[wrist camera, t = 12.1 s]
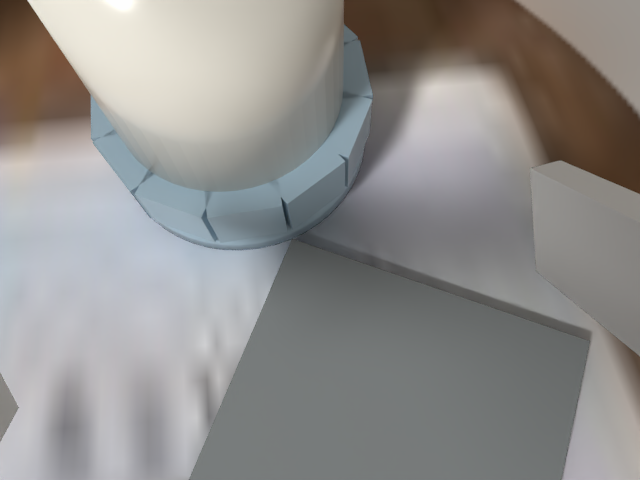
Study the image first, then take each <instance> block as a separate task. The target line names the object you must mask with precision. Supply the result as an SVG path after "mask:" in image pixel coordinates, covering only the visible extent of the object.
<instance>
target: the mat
mask: <svg viewBox="0 0 640 480" xmlns="http://www.w3.org/2000/svg"><path fill="white" fill-rule="evenodd" d="M589 343H590V341H588V340H585V339H582V338H579V337H576V336H574V335H571V334H568V333H565V332H562V331H559V330H556V329H553V328H550V327H547V326H545V325H542V324H539V323H536V322H533V321H530V320H527V319H524V318H521V317H518V316H515V315H513V314H510V313H507V312H504V311H501V310H498V309H495V308H492V307H489V306H486V305H483V304H481V303H478V302H475V301H472V300H469V299H466V298H463V297H460V296H457V295H454V294H451V293H449V292H446V291H443V290H440V289H437V288H434V287H431V286H428V285H425V284H422V283H420V282H417V281H414V280H411V279H408V278H405V277H402V276H399V275H396V274H393V273H390V272H388V271H385V270H382V269H379V268H376V267H373V266H370V265H367V264H364V263H361V262H358V261H356V260H353V259H350V258H347V257H344V256H341V255H338V254H335V253H332V252H329V251H326V250H324V249H321V248H318V247H315V246H312V245H309V244H306V243H303V242H300V241H297V240H295V239H292V240H291V243H290V245H289V247H288V250H287V252H286V254H285V257H284V259H283V261H282V264H281V266H280V268H279V271H278V273H277V276H276V278H275V280H274V283H273V285H272V287H271V290H270V292H269V294H268V297H267V299H266V301H265V304H264V306H263V308H262V311H261V313H260V315H259V318H258V320H257V322H256V325H255V327H254V329H253V332H252V334H251V336H250V339H249V341H248V343H247V346H246V348H245V350H244V353H243V355H242V357H241V360H240V362H239V364H238V367H237V369H236V371H235V374H234V376H233V378H232V381H231V383H230V385H229V388H228V390H227V392H226V395H225V397H224V399H223V402H222V404H221V406H220V409H219V411H218V413H217V416H216V418H215V420H214V423H213V425H212V427H211V430H210V432H209V434H208V437H207V439H206V441H205V444H204V446H203V448H202V451H201V453H200V455H199V458H198V460H197V462H196V465H195V467H194V469H193V472H192V474H191V476H190V479H189V480H561V479H562V474H563V469H564V465H565V460H566V455H567V450H568V445H569V440H570V435H571V430H572V426H573V421H574V416H575V411H576V406H577V401H578V396H579V392H580V387H581V382H582V377H583V372H584V367H585V362H586V358H587V353H588V348H589Z"/></svg>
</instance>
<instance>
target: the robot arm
mask: <svg viewBox="0 0 640 480" xmlns="http://www.w3.org/2000/svg"><path fill="white" fill-rule="evenodd" d="M530 179H531V196H532V213H533V230H534V247H535V264H536V272H538V273H539V274H540V275H541V276H543V277H544V278H545V279H546V280H547V281H549V282H550V283H551V284H552V285H553V286H555V287H556V288H557V289H558V290H560V291H561V292H562V293H563V294H564V295H566V296H567V297H568V298H569V299H571V300H572V301H573V302H574V303H575V304H577V305H578V306H579V307H580V308H581V309H583V310H584V311H585V312H586V313H588V314H589V315H590V316H591V317H592V318H594V319H595V320H596V321H597V322H599V323H600V324H601V325H602V326H603V327H605V328H606V329H607V330H608V331H610V332H611V333H612V334H613V335H614V336H616V337H617V338H618V339H619V340H620V341H622V342H623V343H624V344H625V345H627V346H628V347H629V348H630V349H631V350H633V351H634V352H635V353H636V354H638V355H639V356H640V194H638V193H636V192H634V191H631V190H629V189H627V188H624V187H622V186H620V185H617V184H615V183H613V182H610V181H608V180H605V179H603V178H601V177H598V176H596V175H594V174H591V173H589V172H587V171H584V170H582V169H580V168H577V167H575V166H573V165H570V164H568V163H566V162H563V161H561V160H560V161H556V162H552V163H548V164H544V165H540V166H536V167H532V168H530ZM18 408H19V407H18V405H17V403H16V401H15V400H14V398H13V396H12V394H11V392H10V390H9V388H8V386H7V385H6V383H5V381H4V379H3V377H2V375H1V373H0V441H1V440H2V438H3V436H4V434H5V432H6V430H7V428H8V427H9V425H10V423H11V421H12V419H13V417H14V415H15V414H16V412H17V410H18Z"/></svg>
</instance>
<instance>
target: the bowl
mask: <svg viewBox="0 0 640 480" xmlns="http://www.w3.org/2000/svg"><path fill="white" fill-rule="evenodd" d="M372 100H373V93H372V89H371V85H370V81H369V76H368V72H367V68H366V64H365V60H364V55H363V51H362V47H361V43H360V40H358V36H356V35H355V34H354V33H353V32H352V31H351V30H350V29H349V28H348V27H347V26H346V25H344V66H343V98H342V104H341V108H340V113H339V115H338V118H337V120H336V123H335V125H334V127H333V129H332V131H331V132H330V134H329V136H328V137H327V139H326V140H325V141H324V143H323V144H322V145H321V146H320V148H319V149H318V150H317V151H316V152H315V153H314V154H313V155H312V156H311V157H310V158H309V159H308V160H307V161H305V162H304V163H303V164H301V165H300V166H299V167H297V168H296V169H294V170H293V171H291V172H289V173H288V174H286V175H284V176H282V177H280V178H278V179H276V180H273V181H271V182H269V183H266V184H263V185H260V186H256V187H253V188H249V189H243V190H237V191H225V192H212V191H200V190H195V189H189V188H185V187H182V186H179V185H176V184H173V183H171V182H169V181H166V180H164V179H162V178H160V177H158V176H157V175H155V174H154V173H152V172H151V171H149V170H148V169H146V168H145V167H144V166H143V165H142V164H141V163H140V162H138V161H137V160H136V158H135V157H134V156H133V155H132V154H131V152H130V151H129V150H128V148H127V147H126V145H125V144H124V143H123V141H122V140H121V138H120V137H119V135H118V134H117V132H116V131H115V129H114V128H113V126H112V125H111V123H110V122H109V120H108V119H107V117H106V116H105V114H104V113H103V111H102V110H101V109H100V107H99V106H98V104H97V103H96V101H95V100H94V98H93V97H92V95H91V139H92V140H93V144H94V145H95V147H96V148H97V149H98V150H99V152H100V153H101V154H102V156H103V157H104V158H105V160H106V161H107V162H108V164H109V165H110V166H111V167H112V169H113V170H114V171H115V173H116V174H117V175H118V177H119V178H120V179H121V180H122V182H123V183H124V184H125V186H126V187H127V188H128V190H129V191H130V192H131V194H132V195H133V196H134V197H135V199H136V200H137V201H138V203H139V204H140V205H141V206H142V208H143V209H144V210H145V212H146V213H147V214H148V215H149V217H150V218H152V219H153V220H154V221H155V222H157V223H158V224H159V225H161V226H162V227H163V228H164V229H166V230H167V231H169V232H171V233H172V234H174V235H176V236H177V237H180V238H182V239H184V240H186V241H189V242H191V243H194V244H198V245H201V246H205V247H209V248H215V249H222V250H249V249H259V248H263V247H267V246H272V245H276V244H279V243H282V242H284V241H287V240H290V239H292V238H294V237H296V236H298V235H300V234H302V233H304V232H306V231H308V230H309V229H311V228H312V227H314V226H315V225H317V224H318V223H320V222H321V221H322V220H323V219H325V218H326V217H327V216H328V215H329V214H330V213H332V212H333V211H334V209H335V208H336V207H337V206H338V205H339V204H340V203H341V202H342V200H343V199H344V198H345V196H346V195H347V193H348V192H349V190H350V189H351V187H352V185H353V183H354V181H355V179H356V177H357V175H358V172H359V169H360V166H361V163H362V160H363V154H364V147H365V144H366V141H367V139H368V136H369V134H370V122H371V111H372Z"/></svg>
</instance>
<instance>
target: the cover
mask: <svg viewBox="0 0 640 480" xmlns="http://www.w3.org/2000/svg"><path fill="white" fill-rule="evenodd" d="M27 1H28V2H29V3H30V5H31V6H32V8H33V9H34V11H35V12H36V14H37V15H38V17H39V18H40V20H41V21H42V23H43V24H44V26H45V27H46V29H47V30H48V32H49V33H50V35H51V36H52V38H53V39H54V40H55V42H56V43H57V45H58V46H59V48H60V49H61V51H62V52H63V54H64V55H65V57H66V58H67V60H68V61H69V63H70V64H71V66H72V67H73V69H74V70H75V72H76V73H77V74H78V76H79V77H80V79H81V80H82V82H83V83H84V85H85V86H86V88H87V89H88V91H89V92H90V94H91V95H92V97H93V98H94V100H95V101H96V103H97V104H98V106H99V107H100V109H101V110H102V111H103V113H104V114H105V116H106V117H107V119H108V120H109V122H110V123H111V125H112V126H113V128H114V129H115V131H116V132H117V134H118V135H119V137H120V138H121V140H122V141H123V143H124V144H125V145H126V147H127V148H128V150H129V151H130V152H131V154H132V155H133V156H134V157H135V158H136V160H137V161H138V162H140V163H141V164H142V165H143V166H144V167H145V168H146V169H148V170H149V171H151V172H152V173H154V174H155V175H157V176H158V177H160V178H162V179H164V180H166V181H169V182H171V183H173V184H176V185H179V186H182V187H185V188H189V189H195V190H200V191H212V192H225V191H237V190H243V189H249V188H253V187H256V186H260V185H263V184H266V183H269V182H271V181H273V180H276V179H278V178H280V177H282V176H284V175H286V174H288V173H289V172H291V171H293V170H294V169H296V168H297V167H299V166H300V165H301V164H303V163H304V162H305V161H307V160H308V159H309V158H310V157H311V156H312V155H313V154H314V153H315V152H316V151H317V150H318V149H319V148H320V146H321V145H322V144H323V143H324V141H325V140H326V139H327V137H328V136H329V134H330V132H331V131H332V129H333V127H334V125H335V123H336V120H337V118H338V115H339V113H340V108H341V104H342V98H343V66H344V0H27Z"/></svg>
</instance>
